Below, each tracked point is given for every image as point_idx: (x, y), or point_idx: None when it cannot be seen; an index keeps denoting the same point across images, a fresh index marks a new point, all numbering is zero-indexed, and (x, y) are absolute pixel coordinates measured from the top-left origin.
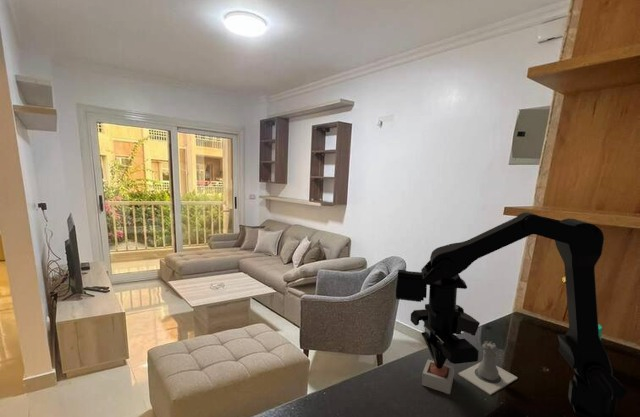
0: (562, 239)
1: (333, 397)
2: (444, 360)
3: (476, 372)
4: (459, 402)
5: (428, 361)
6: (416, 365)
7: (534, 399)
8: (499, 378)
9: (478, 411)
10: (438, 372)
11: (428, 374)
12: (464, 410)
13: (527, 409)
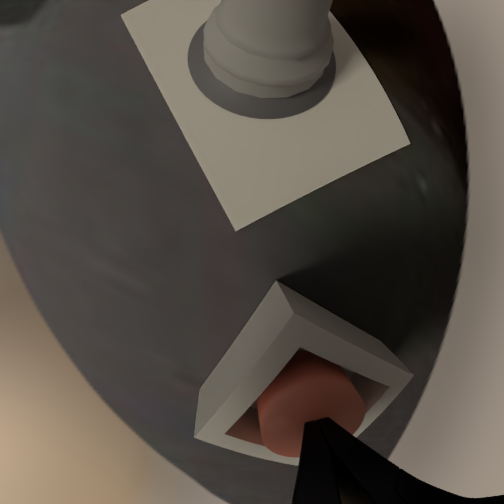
0: None
1: None
2: (374, 457)
3: (235, 102)
4: (421, 314)
5: (218, 440)
6: (162, 414)
7: (400, 4)
8: None
9: (462, 259)
10: (353, 429)
11: None
12: (449, 310)
13: (450, 67)
